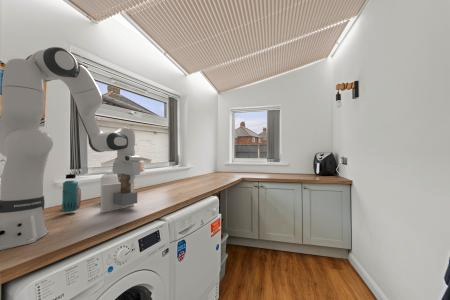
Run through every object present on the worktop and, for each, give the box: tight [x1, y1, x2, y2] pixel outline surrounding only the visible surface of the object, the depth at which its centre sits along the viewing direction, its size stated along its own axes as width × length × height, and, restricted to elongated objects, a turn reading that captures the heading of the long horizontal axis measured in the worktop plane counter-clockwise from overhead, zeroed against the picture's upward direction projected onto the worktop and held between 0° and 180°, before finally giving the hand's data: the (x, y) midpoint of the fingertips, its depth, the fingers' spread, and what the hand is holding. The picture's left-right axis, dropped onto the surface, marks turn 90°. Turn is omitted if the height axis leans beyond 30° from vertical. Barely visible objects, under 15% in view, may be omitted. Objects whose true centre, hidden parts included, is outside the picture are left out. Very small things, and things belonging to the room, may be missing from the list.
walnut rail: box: [121, 174, 131, 194], centre depth 115 cm, size 4×4×16 cm
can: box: [100, 169, 120, 186], centre depth 136 cm, size 12×12×20 cm
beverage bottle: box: [61, 173, 79, 213], centre depth 108 cm, size 6×7×20 cm
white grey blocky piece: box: [100, 181, 138, 213], centre depth 116 cm, size 18×12×14 cm, turn 148°
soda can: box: [77, 185, 82, 209], centre depth 119 cm, size 7×7×12 cm
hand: (125, 183), depth 115 cm, fingers open, 8 cm apart
